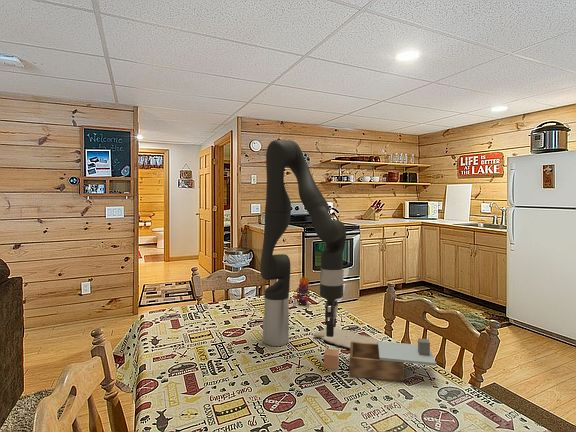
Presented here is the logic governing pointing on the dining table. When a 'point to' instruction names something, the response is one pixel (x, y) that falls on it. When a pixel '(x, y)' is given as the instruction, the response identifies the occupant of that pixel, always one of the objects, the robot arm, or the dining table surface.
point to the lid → (407, 352)
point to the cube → (331, 358)
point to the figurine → (302, 292)
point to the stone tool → (345, 337)
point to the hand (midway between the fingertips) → (331, 331)
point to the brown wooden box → (373, 364)
